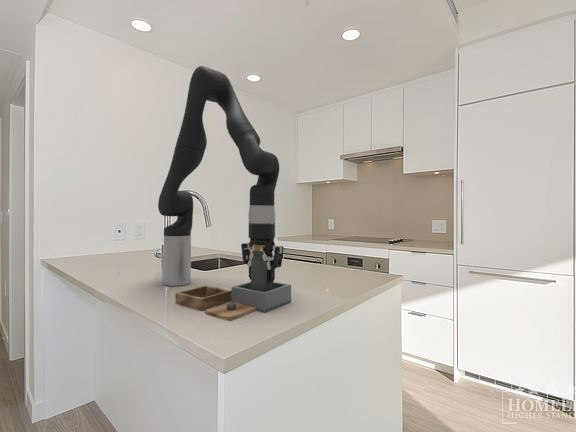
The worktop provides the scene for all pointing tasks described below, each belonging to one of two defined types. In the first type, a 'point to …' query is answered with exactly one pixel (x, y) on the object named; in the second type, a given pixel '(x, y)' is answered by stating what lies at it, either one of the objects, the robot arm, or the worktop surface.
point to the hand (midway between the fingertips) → (261, 280)
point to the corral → (196, 301)
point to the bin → (262, 296)
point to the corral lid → (230, 311)
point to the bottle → (259, 271)
